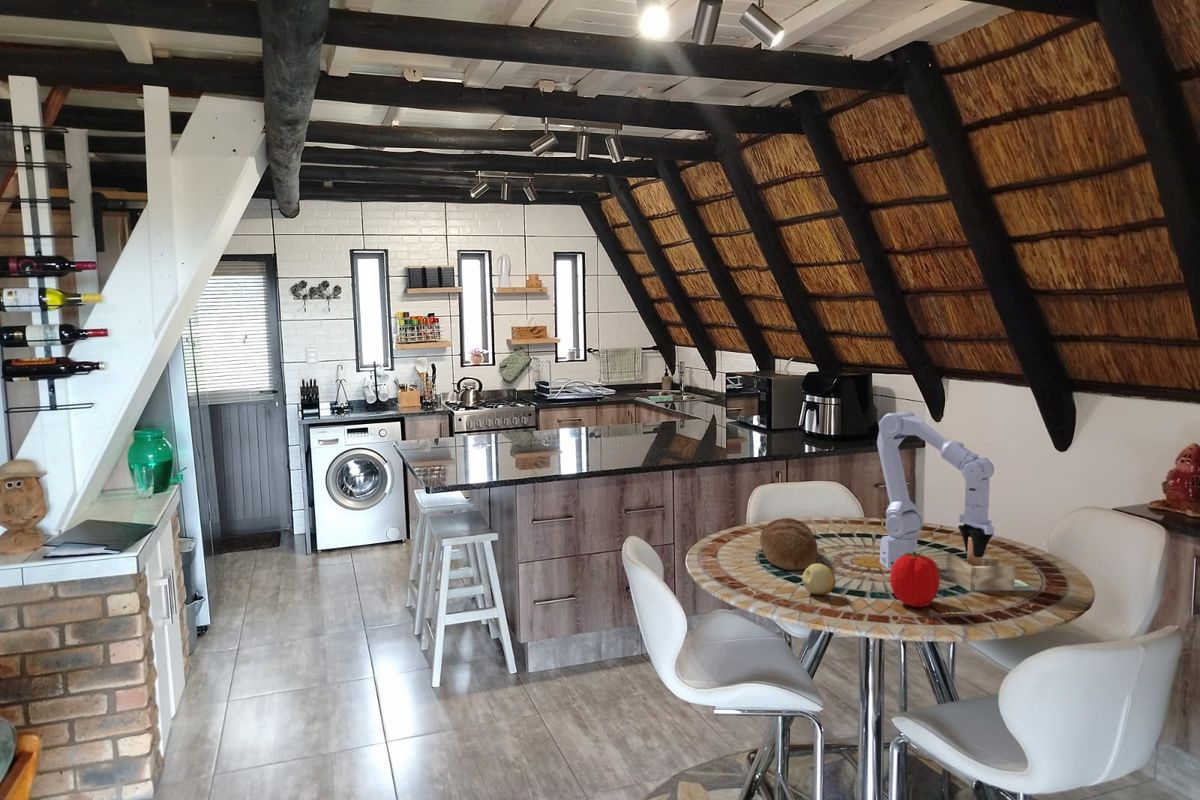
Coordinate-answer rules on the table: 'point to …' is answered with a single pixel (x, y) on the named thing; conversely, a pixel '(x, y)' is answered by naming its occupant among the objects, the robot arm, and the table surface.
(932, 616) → the table surface
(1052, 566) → the table surface
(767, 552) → the bread
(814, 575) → the fruit
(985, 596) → the table surface
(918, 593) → the tomato
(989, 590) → the board
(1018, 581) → the pad
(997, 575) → the tan piece
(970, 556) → the peg
